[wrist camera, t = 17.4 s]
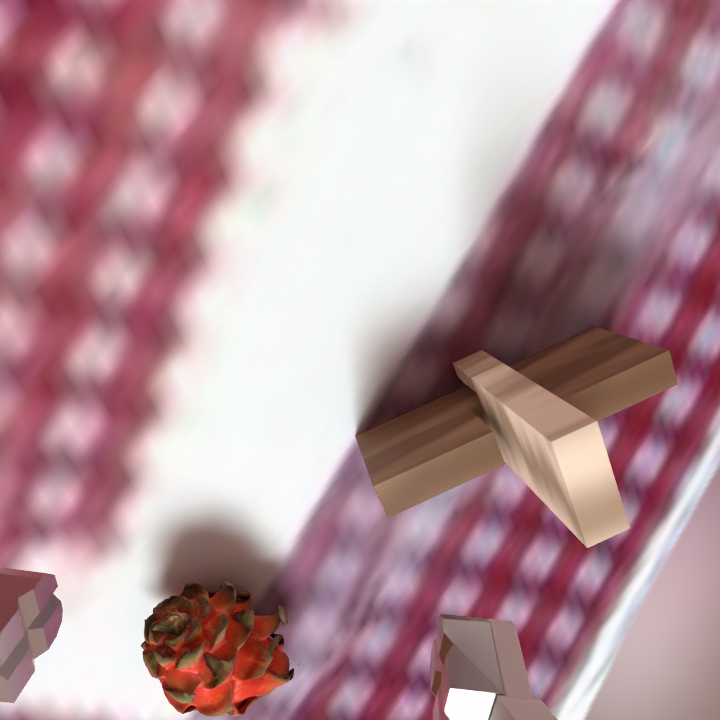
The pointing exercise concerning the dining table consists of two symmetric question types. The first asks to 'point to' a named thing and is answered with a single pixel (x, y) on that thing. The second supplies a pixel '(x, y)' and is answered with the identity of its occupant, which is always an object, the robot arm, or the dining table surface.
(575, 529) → the ash slotted plate
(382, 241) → the dining table surface
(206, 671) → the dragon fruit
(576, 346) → the walnut slotted plate
